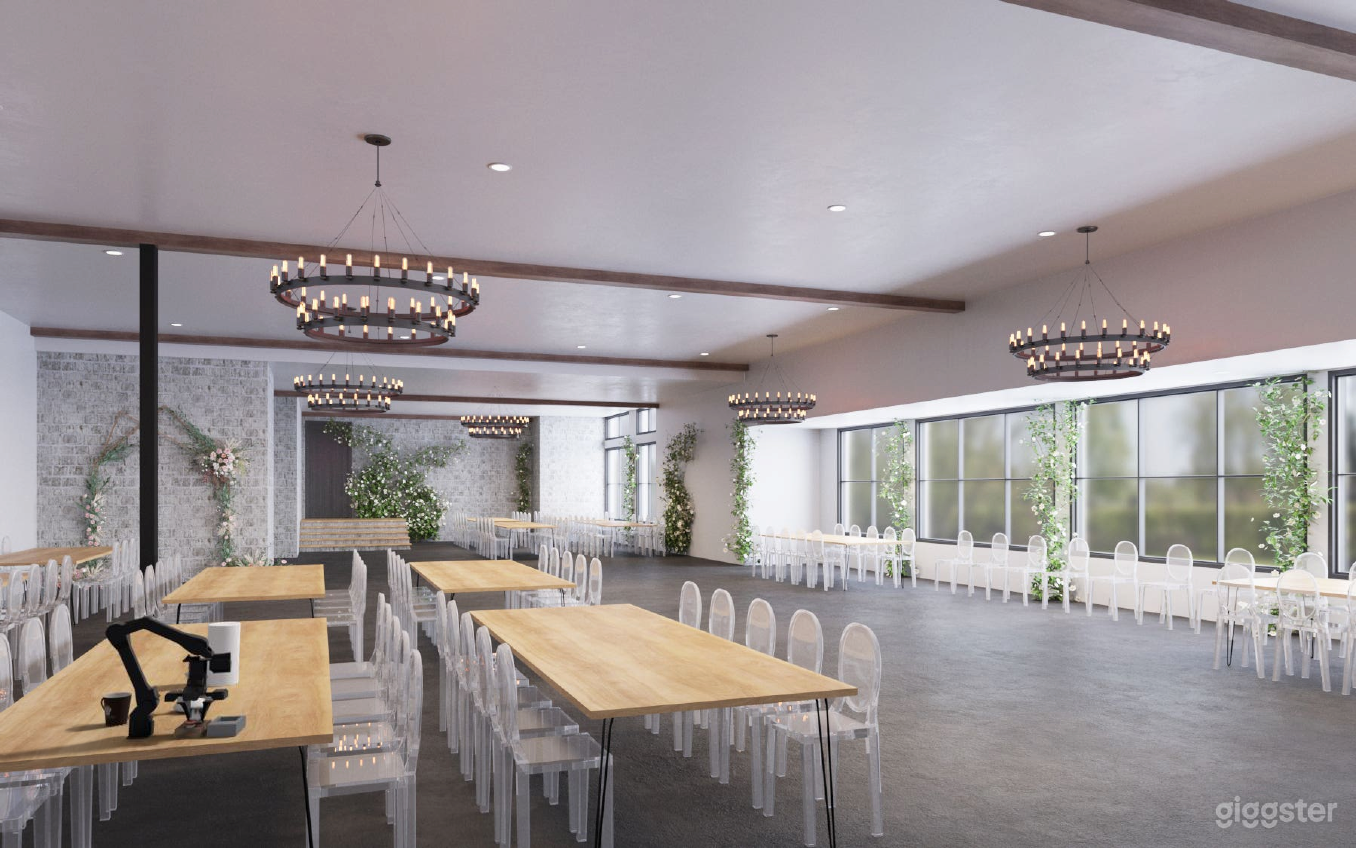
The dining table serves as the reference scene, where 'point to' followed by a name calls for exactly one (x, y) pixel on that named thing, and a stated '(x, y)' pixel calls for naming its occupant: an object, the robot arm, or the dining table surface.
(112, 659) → the dining table surface
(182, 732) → the socket block
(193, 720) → the pin
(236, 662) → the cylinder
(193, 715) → the peg
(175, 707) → the flower in vase
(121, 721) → the coffee mug
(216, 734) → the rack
